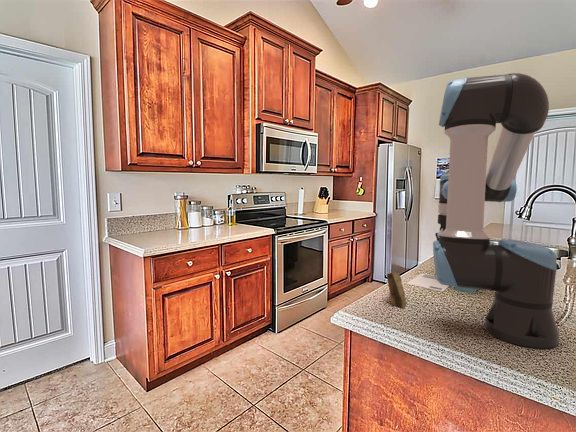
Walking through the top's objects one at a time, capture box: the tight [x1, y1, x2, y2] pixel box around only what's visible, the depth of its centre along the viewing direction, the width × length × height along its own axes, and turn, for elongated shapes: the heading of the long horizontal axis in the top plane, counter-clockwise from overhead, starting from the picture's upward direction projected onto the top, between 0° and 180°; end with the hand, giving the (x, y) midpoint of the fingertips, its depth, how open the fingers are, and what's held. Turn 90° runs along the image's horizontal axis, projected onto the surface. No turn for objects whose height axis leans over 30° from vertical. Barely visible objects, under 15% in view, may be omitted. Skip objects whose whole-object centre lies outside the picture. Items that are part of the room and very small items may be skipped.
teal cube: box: [454, 287, 478, 295], centre depth 114 cm, size 6×6×6 cm
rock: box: [386, 271, 407, 309], centre depth 103 cm, size 11×9×10 cm
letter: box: [405, 272, 450, 292], centre depth 123 cm, size 18×13×1 cm
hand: (444, 273), depth 128 cm, fingers closed
